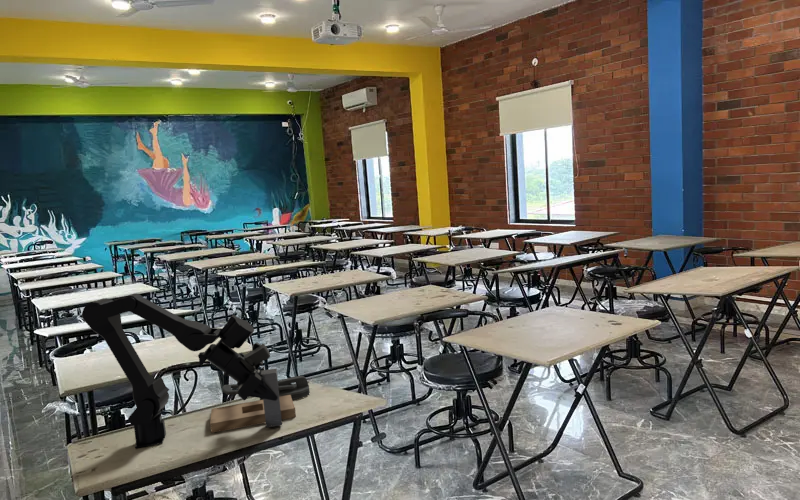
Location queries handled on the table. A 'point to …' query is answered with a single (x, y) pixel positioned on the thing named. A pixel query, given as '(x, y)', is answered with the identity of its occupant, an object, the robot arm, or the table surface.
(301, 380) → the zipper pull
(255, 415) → the post foot
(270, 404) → the dark grey square post
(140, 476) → the table surface
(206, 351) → the robot arm
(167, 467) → the table surface
